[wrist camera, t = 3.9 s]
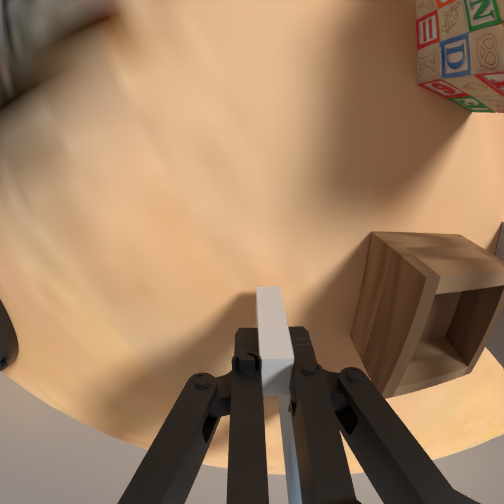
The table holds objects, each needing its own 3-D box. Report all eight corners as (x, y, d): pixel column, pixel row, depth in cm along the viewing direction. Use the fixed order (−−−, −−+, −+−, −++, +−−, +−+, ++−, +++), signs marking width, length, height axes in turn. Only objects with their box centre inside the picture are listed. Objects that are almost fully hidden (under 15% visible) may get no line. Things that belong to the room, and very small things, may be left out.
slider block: (350, 336, 21) (379, 400, 14) (371, 231, 18) (426, 277, 11) (433, 325, 21) (470, 373, 15) (459, 234, 18) (516, 270, 11)
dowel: (275, 399, 24) (288, 532, 11) (278, 375, 22) (295, 526, 9) (312, 396, 24) (337, 524, 11) (317, 373, 22) (352, 515, 9)
